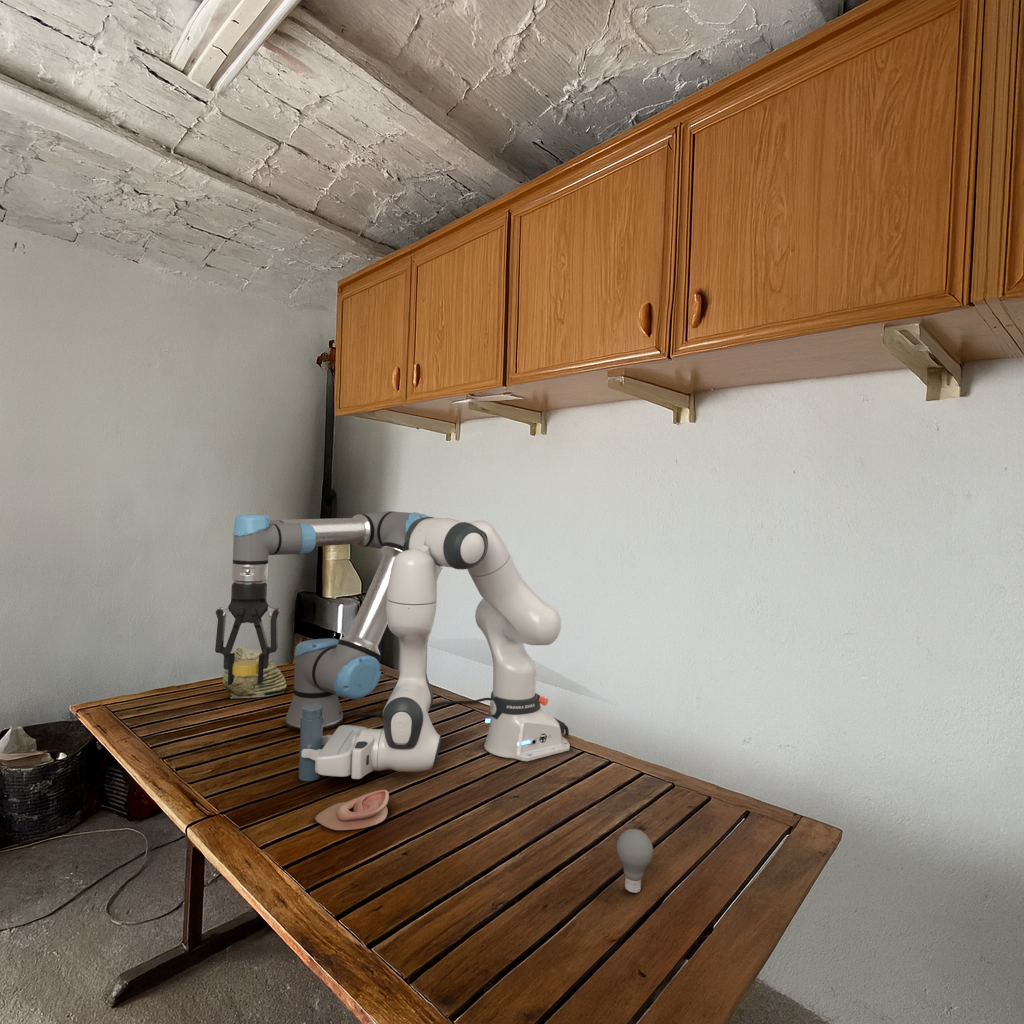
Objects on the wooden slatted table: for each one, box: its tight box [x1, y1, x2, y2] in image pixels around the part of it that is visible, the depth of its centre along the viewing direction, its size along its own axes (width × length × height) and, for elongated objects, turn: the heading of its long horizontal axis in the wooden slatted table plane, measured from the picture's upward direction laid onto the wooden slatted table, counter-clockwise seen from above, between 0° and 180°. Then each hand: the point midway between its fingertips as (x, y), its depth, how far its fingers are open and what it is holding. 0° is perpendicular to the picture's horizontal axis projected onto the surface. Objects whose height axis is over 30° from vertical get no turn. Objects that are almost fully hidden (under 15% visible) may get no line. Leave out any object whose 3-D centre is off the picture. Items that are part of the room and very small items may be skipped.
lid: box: [232, 660, 259, 676], centre depth 145 cm, size 6×6×2 cm
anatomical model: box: [314, 789, 390, 831], centre depth 126 cm, size 13×4×12 cm
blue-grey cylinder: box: [298, 704, 324, 782], centre depth 143 cm, size 5×5×16 cm
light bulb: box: [615, 828, 654, 894], centre depth 106 cm, size 6×6×10 cm
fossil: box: [222, 646, 288, 699], centre depth 198 cm, size 9×18×15 cm, turn 132°
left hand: (245, 682), depth 145 cm, fingers closed on lid, 6 cm apart
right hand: (306, 746), depth 143 cm, fingers closed on blue-grey cylinder, 5 cm apart
